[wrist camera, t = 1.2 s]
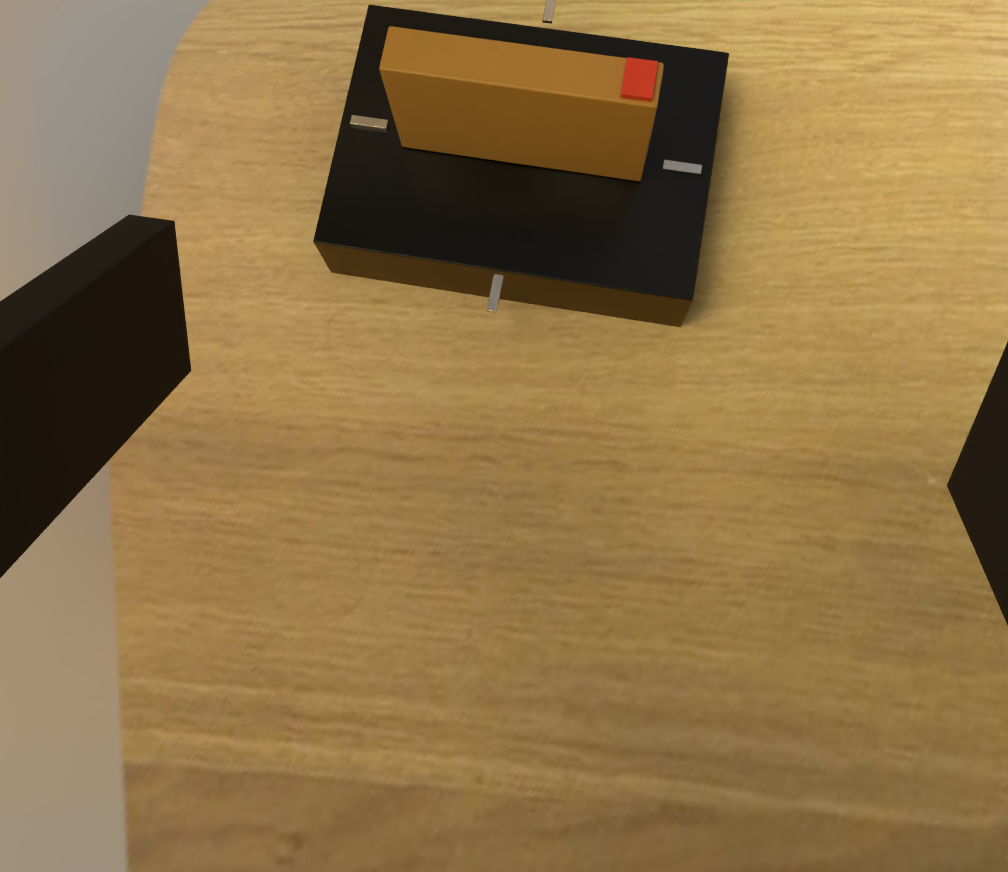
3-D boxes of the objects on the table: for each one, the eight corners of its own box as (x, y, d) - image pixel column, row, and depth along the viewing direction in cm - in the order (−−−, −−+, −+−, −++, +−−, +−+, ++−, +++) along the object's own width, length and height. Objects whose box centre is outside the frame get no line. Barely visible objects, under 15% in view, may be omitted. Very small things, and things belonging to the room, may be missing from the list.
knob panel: (322, 310, 37) (302, 281, 34) (389, 17, 39) (376, -35, 36) (675, 366, 36) (687, 341, 33) (720, 62, 38) (735, 12, 35)
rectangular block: (401, 147, 35) (376, 63, 30) (409, 109, 35) (386, 20, 30) (640, 182, 34) (658, 103, 29) (647, 142, 34) (665, 57, 29)
